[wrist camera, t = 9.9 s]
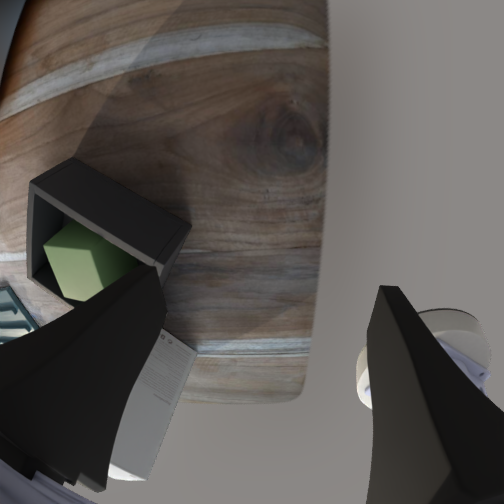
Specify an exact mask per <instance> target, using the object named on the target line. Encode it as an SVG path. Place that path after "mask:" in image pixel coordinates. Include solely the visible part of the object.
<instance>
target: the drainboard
mask: <svg viewBox="0 0 504 504" xmlns="http://www.w3.org/2000/svg"><path fill="white" fill-rule="evenodd" d="M38 328H39V327H38V326H37V324H36V323H35V322H34V320H33V319H32V318H31V316H30V315H29V314H28V312H27V311H26V309H25V308H24V307H23V305H22V304H21V302H20V301H19V299H18V298H17V297H16V295H15V294H14V292H13V291H12V289H11V288H10V286H9V287H5V288H2V289H0V344H3V343H6V342H8V341H11V340H14V339H16V338H18V337H21V336H23V335H25V334H27V333H29V332H32V331H34V330H36V329H38Z"/></svg>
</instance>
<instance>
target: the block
mask: <svg viewBox="0 0 504 504" xmlns="http://www.w3.org/2000/svg"><path fill="white" fill-rule="evenodd" d="M43 246H44V249H45V252H46V254H47V257H48V259H49V262H50V265H51V267H52V269H53V272H54V274H55V277H56V279H57V282H58V284H59V286H60V288H61V291H62V293H63V295H64V297H66V298H71V299H75V300H80V301H84V302H85V301H86V300H88V299H89V298H91V297H92V296H94V295H95V294H97V293H98V292H100V291H101V290H103V289H104V288H106V287H107V286H109V285H110V284H111V283H113V282H114V281H116V280H117V279H119V278H120V277H122V276H123V275H125V274H126V273H128V272H129V271H131V270H133V269H134V268H136V267H138V263H137V259H136V257H134V256H133V255H131V254H129V253H128V252H126V251H124V250H123V249H121V248H119V247H118V246H116V245H115V244H113V243H111V242H110V241H108V240H106V239H105V238H103V237H102V236H100V235H98V234H97V233H95V232H94V231H92V230H90V229H89V228H87V227H86V226H84V225H83V224H81V223H79V222H78V221H76V220H75V219H73V220H72V221H71V222H70V223H69V224H67V225H66V226H65V227H64V228H63V229H61V230H60V231H59V232H58V233H57V234H55V235H54V236H53V237H52V238H51V239H50V240H49V241H47V242H46V243H45V244H44V245H43Z"/></svg>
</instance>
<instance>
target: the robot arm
mask: <svg viewBox="0 0 504 504" xmlns="http://www.w3.org/2000/svg"><path fill="white" fill-rule="evenodd" d="M167 312H168V311H167V307H166V303H165V300H164V296H163V292H162V288H161V284H160V280H159V276H158V272H157V268H156V266H147V265H140V266H138V267H136V268H134V269H133V270H131V271H129V272H128V273H126V274H125V275H123V276H122V277H120V278H119V279H117V280H116V281H114V282H113V283H111V284H110V285H109V286H107V287H106V288H104V289H103V290H101V291H100V292H98V293H97V294H95V295H94V296H92V297H91V298H89V299H88V300H86V301H85V302H83V303H81V304H80V305H78V306H77V307H75V308H74V309H72V310H71V311H69V312H67V313H66V314H64V315H62V316H61V317H59V318H57V319H55V320H54V321H52V322H50V323H48V324H46V325H44V326H42V327H40V328H38V329H36V330H34V331H32V332H29V333H27V334H25V335H23V336H21V337H18V338H16V339H14V340H11V341H8V342H6V343H3V344H0V504H96V503H94V502H92V501H89V500H88V499H86V498H84V497H82V496H80V495H78V494H76V493H74V492H73V491H71V490H69V489H67V488H65V487H64V486H63V483H64V482H67V483H69V484H71V485H73V486H74V485H75V484H76V483H78V484H80V485H82V486H84V487H86V488H88V489H90V490H92V491H94V492H102V491H104V490H105V489H106V484H107V477H108V471H109V465H110V460H111V456H112V451H113V447H114V443H115V439H116V435H117V432H118V428H119V425H120V422H121V418H122V415H123V412H124V409H125V407H126V404H127V401H128V398H129V395H130V393H131V391H132V389H133V386H134V384H135V382H136V380H137V378H138V376H139V374H140V372H141V370H142V369H143V367H144V365H145V363H146V361H147V359H148V357H149V355H150V353H151V351H152V349H153V347H154V345H155V343H156V341H157V339H158V337H159V335H160V332H161V329H162V327H163V324H164V321H165V318H166V315H167ZM367 364H368V373H369V382H370V385H369V386H368V387H366V388H365V390H364V392H365V395H367V396H370V397H371V402H372V412H373V448H372V462H371V471H370V481H369V488H368V494H367V501H366V504H504V412H503V411H502V410H501V409H500V408H498V407H497V406H496V405H495V404H494V403H493V402H492V401H491V400H490V399H489V398H488V396H487V393H486V389H485V386H484V381H486V380H487V379H488V378H489V377H490V376H491V373H490V371H489V370H487V369H486V368H484V367H483V366H481V365H480V364H478V363H477V362H475V361H474V360H472V359H470V358H469V357H467V356H466V355H464V354H463V353H461V352H460V351H458V350H456V349H455V348H453V347H452V346H450V345H449V344H447V343H445V342H444V341H442V340H441V339H438V338H435V337H434V335H433V334H432V333H431V331H430V330H429V329H428V327H427V326H426V325H425V323H424V322H423V320H422V319H421V318H420V316H419V315H418V313H417V312H416V311H415V309H414V308H413V306H412V305H411V304H410V302H409V301H408V299H407V298H406V296H405V295H404V294H403V292H402V291H401V290H400V288H399V287H398V286H383V285H380V286H379V290H378V294H377V298H376V301H375V305H374V309H373V312H372V316H371V319H370V323H369V326H368V330H367Z"/></svg>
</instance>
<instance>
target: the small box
mask: <svg viewBox="0 0 504 504" xmlns="http://www.w3.org/2000/svg"><path fill="white" fill-rule="evenodd" d="M196 356H197V352H196V351H194V350H193V349H191V348H190V347H188V346H187V345H185V344H184V343H182V342H181V341H180V340H178V339H177V338H175V337H174V336H172V335H171V334H169V333H168V332H167V331H165V330H164V329H161V332H160V335H159V337H158V339H157V341H156V343H155V345H154V347H153V349H152V351H151V353H150V355H149V357H148V359H147V361H146V363H145V365H144V367H143V369H142V370H141V372H140V374H139V376H138V378H137V380H136V382H135V384H134V386H133V389H132V391H131V393H130V395H129V398H128V401H127V404H126V407H125V409H124V412H123V415H122V418H121V422H120V425H119V428H118V432H117V435H116V439H115V443H114V447H113V451H112V456H111V460H110V465H109V471H108V476H110V477H112V478H113V479H123V480H129V481H134V480H148V477H149V475H150V472H151V470H152V467H153V464H154V462H155V459H156V457H157V454H158V452H159V449H160V447H161V444H162V441H163V439H164V436H165V434H166V431H167V429H168V426H169V424H170V421H171V418H172V416H173V413H174V410H175V408H176V405H177V403H178V400H179V398H180V395H181V393H182V390H183V388H184V385H185V383H186V380H187V378H188V376H189V373H190V371H191V368H192V366H193V363H194V361H195V358H196Z"/></svg>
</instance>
